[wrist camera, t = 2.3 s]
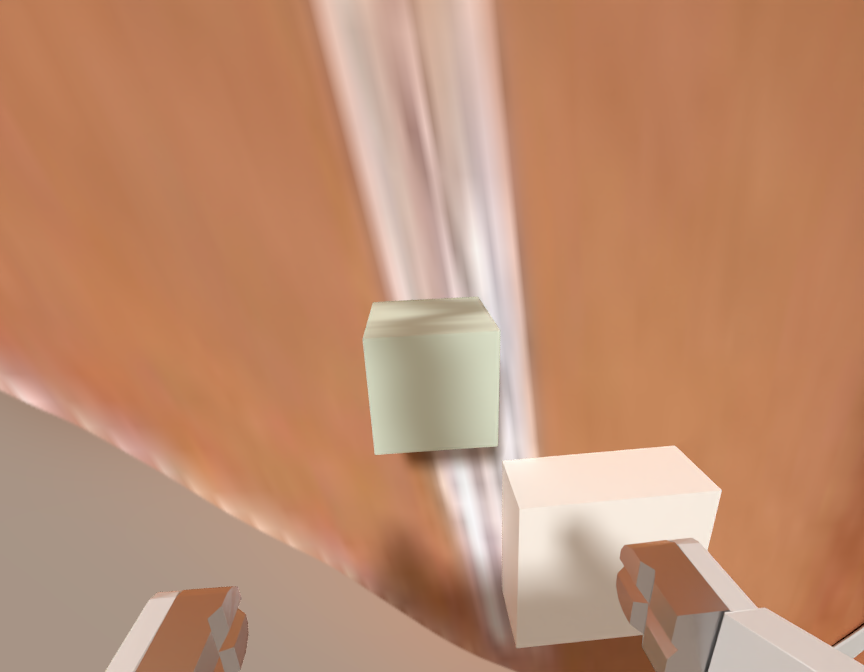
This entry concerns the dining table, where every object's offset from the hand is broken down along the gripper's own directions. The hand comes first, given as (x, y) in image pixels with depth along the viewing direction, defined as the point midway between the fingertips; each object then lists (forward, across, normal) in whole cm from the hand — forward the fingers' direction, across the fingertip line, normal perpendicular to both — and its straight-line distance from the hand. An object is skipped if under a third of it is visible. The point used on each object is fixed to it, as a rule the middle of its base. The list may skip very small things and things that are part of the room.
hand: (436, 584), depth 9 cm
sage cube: (+12, -1, -1) cm, 13 cm away
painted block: (+13, -10, +11) cm, 20 cm away
